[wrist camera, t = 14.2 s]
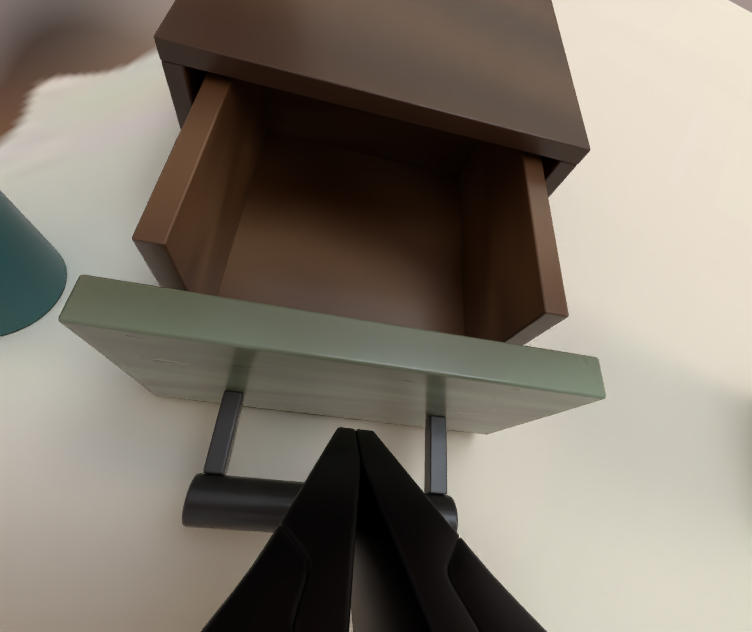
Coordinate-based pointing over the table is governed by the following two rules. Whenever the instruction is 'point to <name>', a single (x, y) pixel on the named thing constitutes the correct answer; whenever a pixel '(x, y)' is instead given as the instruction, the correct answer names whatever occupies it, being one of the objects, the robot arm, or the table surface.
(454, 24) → the cabinet
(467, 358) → the drawer
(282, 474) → the table surface
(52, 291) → the tea tin
